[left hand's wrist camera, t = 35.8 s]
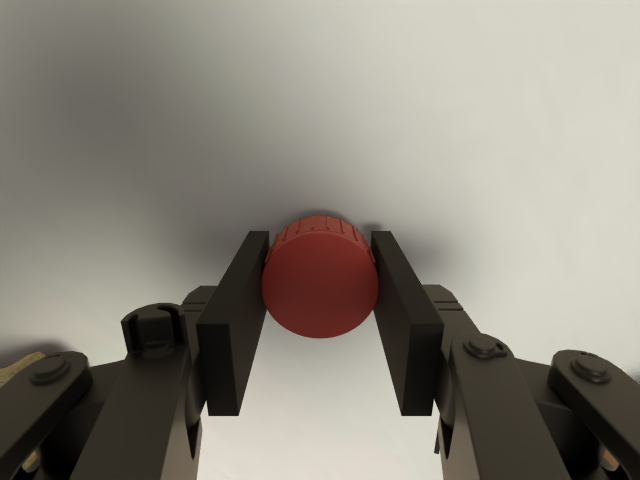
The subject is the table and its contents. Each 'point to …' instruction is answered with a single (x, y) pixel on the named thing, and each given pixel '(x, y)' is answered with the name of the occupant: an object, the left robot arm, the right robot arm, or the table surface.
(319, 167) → the table surface
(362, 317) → the cap
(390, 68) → the table surface
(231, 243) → the table surface
